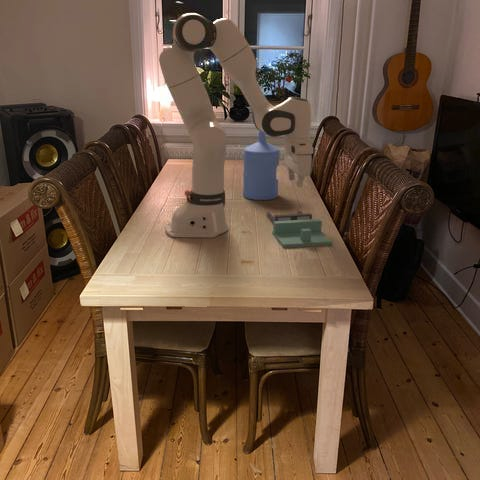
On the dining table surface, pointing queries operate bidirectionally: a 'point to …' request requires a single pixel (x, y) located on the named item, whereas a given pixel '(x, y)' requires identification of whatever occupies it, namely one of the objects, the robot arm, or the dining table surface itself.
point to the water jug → (260, 170)
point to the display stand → (300, 233)
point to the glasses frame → (289, 216)
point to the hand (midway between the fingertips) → (295, 183)
